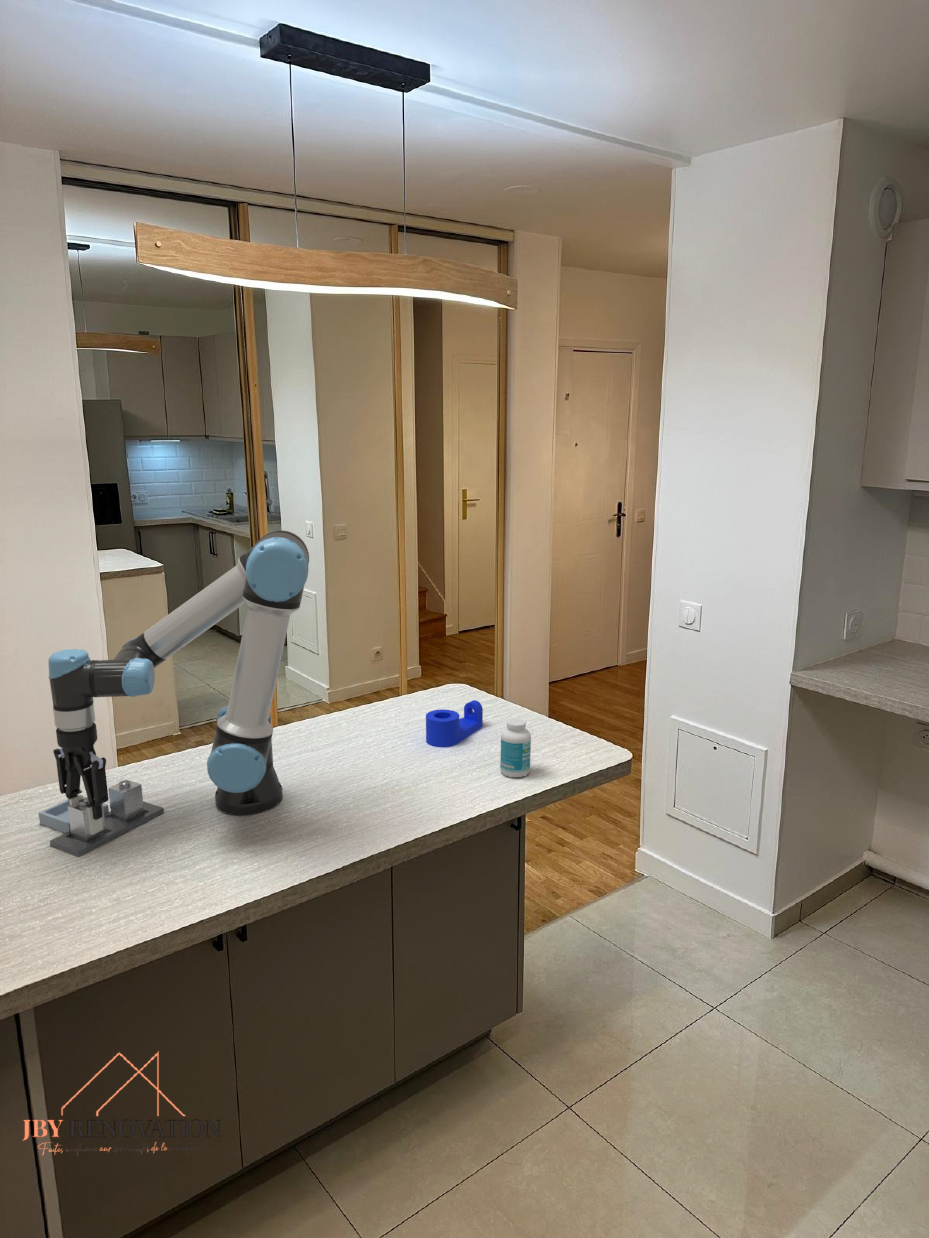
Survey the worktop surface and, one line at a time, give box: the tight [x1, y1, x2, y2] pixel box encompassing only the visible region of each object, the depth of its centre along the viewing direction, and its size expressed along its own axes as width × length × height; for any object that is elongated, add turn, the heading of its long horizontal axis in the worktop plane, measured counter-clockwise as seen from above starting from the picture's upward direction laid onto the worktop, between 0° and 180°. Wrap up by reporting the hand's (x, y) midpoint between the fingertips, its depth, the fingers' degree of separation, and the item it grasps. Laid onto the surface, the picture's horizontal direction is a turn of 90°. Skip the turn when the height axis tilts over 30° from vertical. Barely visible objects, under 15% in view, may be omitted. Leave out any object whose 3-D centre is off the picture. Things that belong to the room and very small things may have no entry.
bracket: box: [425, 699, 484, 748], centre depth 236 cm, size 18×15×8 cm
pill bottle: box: [499, 718, 532, 778], centre depth 211 cm, size 8×7×14 cm
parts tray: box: [38, 796, 110, 834], centre depth 188 cm, size 10×10×3 cm
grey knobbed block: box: [107, 779, 144, 824], centre depth 188 cm, size 5×5×9 cm
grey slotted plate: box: [49, 800, 165, 858], centre depth 185 cm, size 22×9×1 cm, turn 151°
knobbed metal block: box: [68, 796, 106, 844], centre depth 179 cm, size 5×5×9 cm
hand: (87, 828), depth 180 cm, fingers closed on knobbed metal block, 5 cm apart
